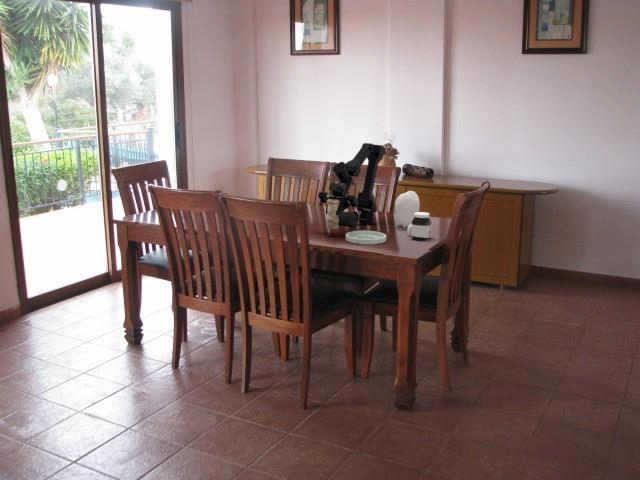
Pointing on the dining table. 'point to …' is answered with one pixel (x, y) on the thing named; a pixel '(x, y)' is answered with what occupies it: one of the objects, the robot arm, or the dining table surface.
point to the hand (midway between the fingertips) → (331, 214)
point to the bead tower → (332, 214)
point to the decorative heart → (406, 207)
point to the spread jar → (420, 226)
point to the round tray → (365, 237)
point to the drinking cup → (349, 218)
